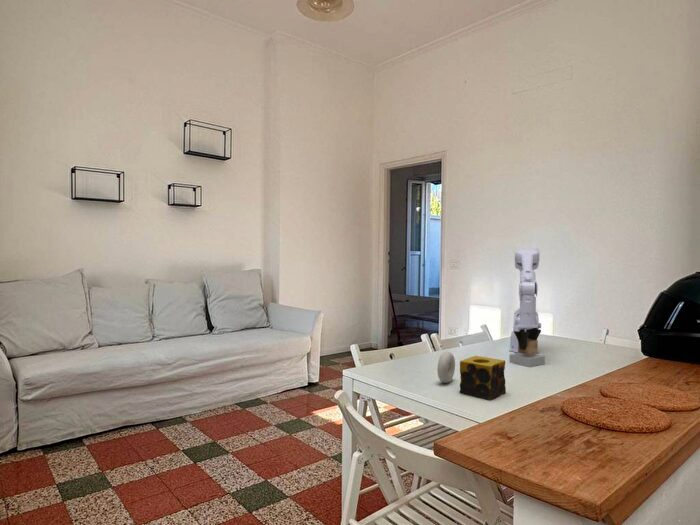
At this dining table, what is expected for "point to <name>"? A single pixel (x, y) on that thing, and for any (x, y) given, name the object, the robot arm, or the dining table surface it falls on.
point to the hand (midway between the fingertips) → (527, 348)
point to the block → (529, 347)
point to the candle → (482, 377)
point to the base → (527, 359)
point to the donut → (446, 367)
